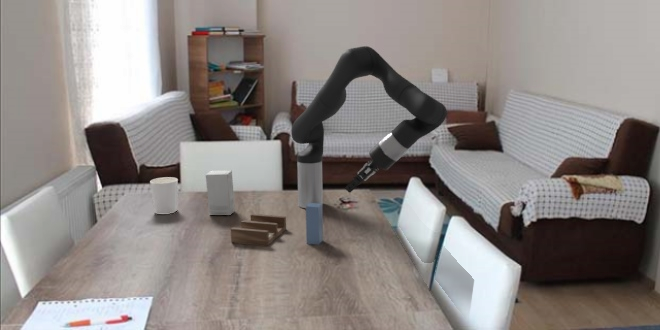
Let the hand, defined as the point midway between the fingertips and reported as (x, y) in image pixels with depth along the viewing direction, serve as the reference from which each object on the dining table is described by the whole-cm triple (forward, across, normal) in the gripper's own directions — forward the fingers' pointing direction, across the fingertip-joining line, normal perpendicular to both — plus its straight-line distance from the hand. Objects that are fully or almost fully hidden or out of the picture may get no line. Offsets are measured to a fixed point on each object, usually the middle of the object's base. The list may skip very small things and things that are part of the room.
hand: (351, 186), depth 176 cm
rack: (+35, -1, -9) cm, 36 cm away
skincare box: (+51, -20, -25) cm, 60 cm away
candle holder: (+66, -17, -40) cm, 79 cm away
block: (+21, 0, +5) cm, 22 cm away
